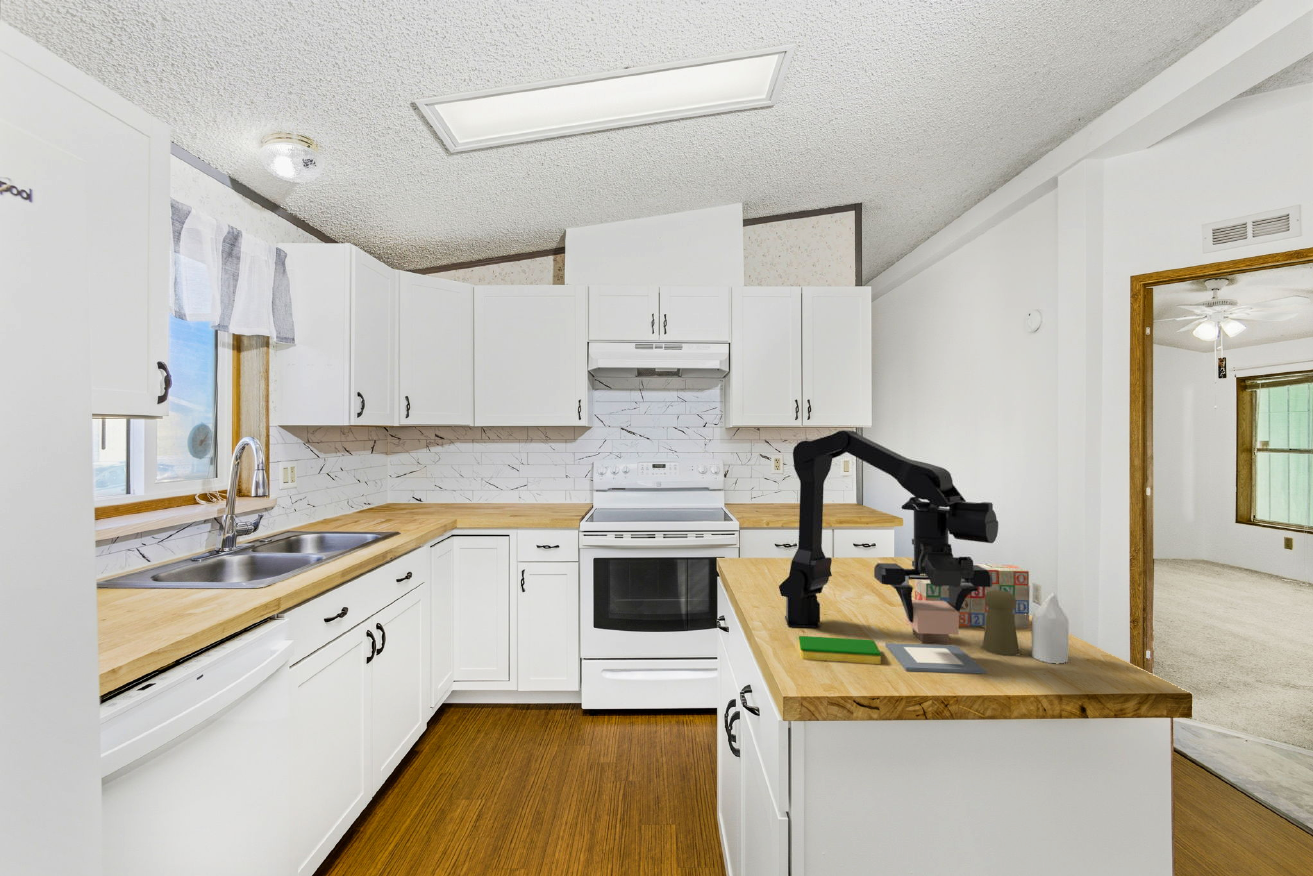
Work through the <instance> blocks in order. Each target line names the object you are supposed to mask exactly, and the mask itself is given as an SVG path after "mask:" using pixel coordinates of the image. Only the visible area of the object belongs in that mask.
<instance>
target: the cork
mask: <svg viewBox="0 0 1313 876" xmlns="http://www.w3.org/2000/svg"><path fill="white" fill-rule="evenodd" d="M985 604H986V606H987V607H988V611H987V618H986V626H985V627H984V634H983V641H982V649H983V650H984V651H986V652H987V653H988V652H989V653H991V654H994V655H998V656H1006V657H1009V656H1010V657H1012V656H1013V657H1014V656H1019V655H1020V647H1019V641H1018V634H1017V629H1016V627H1015V621H1014V614H1013V610H1014V609H1015V608H1016V598H1015V597H1014V595H1013V594H1011V593H1009V592H1005V591H1000V590H992V591H988V592H987V593H986V594H985ZM1018 654H1019V655H1018Z"/></svg>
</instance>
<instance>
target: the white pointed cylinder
mask: <svg viewBox="0 0 1313 876" xmlns="http://www.w3.org/2000/svg"><path fill="white" fill-rule="evenodd" d="M1069 623H1070V622H1069V618H1068V617H1067V615H1066V614H1065V612H1064V610H1063V608H1062V607H1061V606H1060V602H1059V599H1058V596H1057V595H1056V593H1055V592H1052V593H1051V594H1050V595H1049V596H1048V597H1047V598H1046V600H1045V601H1044V602H1043V603H1042V604H1041V606H1040V607H1039V608H1038V609H1037V610H1036V612H1035V613H1033V615H1032V617H1031V657H1032V658H1034V659H1036V660H1038V661H1040V662H1043V661H1044V662H1043V663H1046V662H1047V663H1048V664H1051V663H1056V664H1055V665H1058V664H1057V663H1064V664H1066V663H1067V662H1068V661H1069V660H1068V659H1069V658H1068V656H1069V640H1070V639H1069V636H1070V635H1069V629H1070V628H1069V626H1070V625H1069ZM1065 662H1066V663H1065Z"/></svg>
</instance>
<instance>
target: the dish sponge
mask: <svg viewBox="0 0 1313 876" xmlns="http://www.w3.org/2000/svg"><path fill="white" fill-rule="evenodd" d="M798 649H799V656H800V659H801V660H809V661H810V660H811V661H823V660H827V662H838V661H847V662H846V663H855V664H871V665H872V664H873V665H880V664H882V662H881V661H882V659H881V658H882V656H881V655H882V653H881V650H880V649H879V648H878V645H877V644H876V642H875V640H873V639H861V638H859V639H857V638H846V637H845V638H843V637H842V638H841V637H826V636H823V637H822V636H812V635H811V636H810V635H809V636H807V635H799V636H798Z"/></svg>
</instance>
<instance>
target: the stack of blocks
mask: <svg viewBox="0 0 1313 876" xmlns="http://www.w3.org/2000/svg"><path fill="white" fill-rule="evenodd" d="M973 565H978V566H980V567H982V568H984V569H986V570H988V571H989V572H990V573H991V576H992V587H977V588H978V590H977V591H973V592H971V593H970V594H969V595H968V596H967V597H966V599H965V600H964V602H963V604H962V606H961V609H960V611H959V627H968V626H969V627H972V626H986V618H987V611H988V607H987V606H986V604H985V594H986V593H987V592H988V591H992V590H1000V591H1005V592H1009V593H1011V594H1013V595H1014V597H1015V598H1016V608H1015V609H1014V610H1013V614H1014V621H1015V627H1016V628H1020V629H1021V628H1023V629H1030V597H1031V596H1030V594H1031V593H1030V585H1029V584H1030V582H1029V581H1030V580H1029V579H1030V578H1029V577H1030V575H1029V574H1030V573H1029V572H1030V571H1029V570H1027V569H1025V568H1023V567H1019V566H1017V565H1014V564H999V563H985V564H984V563H983V564H982V563H973ZM914 582H915V583H914V600H927V601H945V602H946V603H948V604H949V586H941V587H938V586H934V585H932V584H931V583H930V580H919V579H914ZM1025 614H1026V615H1025ZM969 627H968V628H969Z"/></svg>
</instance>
